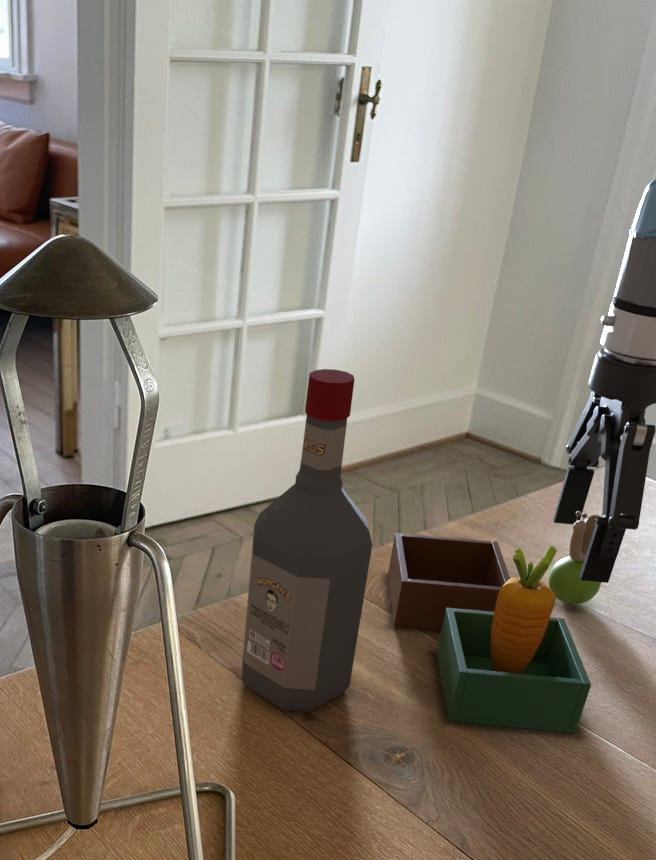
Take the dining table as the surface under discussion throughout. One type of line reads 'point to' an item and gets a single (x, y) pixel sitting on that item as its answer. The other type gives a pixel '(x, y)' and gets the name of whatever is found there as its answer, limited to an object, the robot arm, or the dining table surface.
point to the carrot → (521, 615)
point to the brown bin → (442, 578)
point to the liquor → (309, 567)
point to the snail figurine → (575, 566)
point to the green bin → (510, 677)
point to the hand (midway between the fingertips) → (578, 550)
